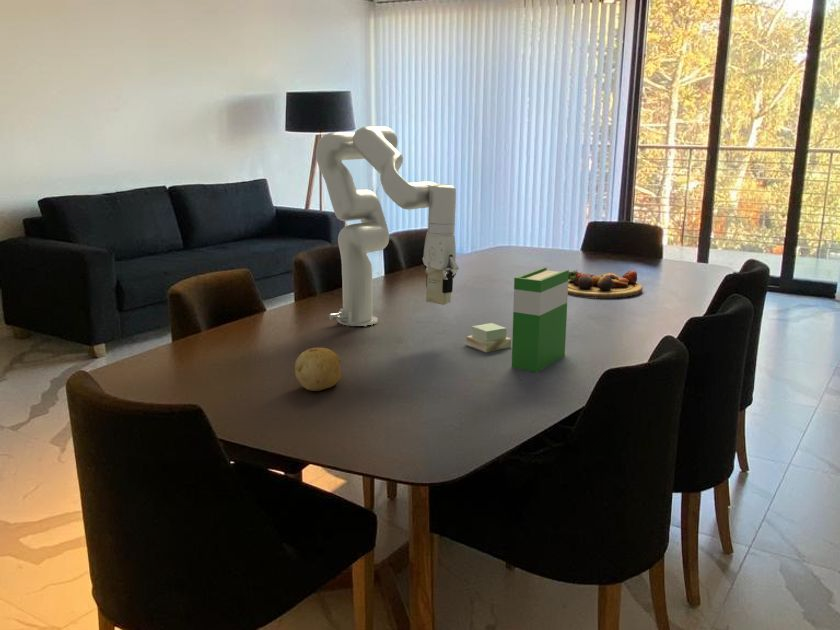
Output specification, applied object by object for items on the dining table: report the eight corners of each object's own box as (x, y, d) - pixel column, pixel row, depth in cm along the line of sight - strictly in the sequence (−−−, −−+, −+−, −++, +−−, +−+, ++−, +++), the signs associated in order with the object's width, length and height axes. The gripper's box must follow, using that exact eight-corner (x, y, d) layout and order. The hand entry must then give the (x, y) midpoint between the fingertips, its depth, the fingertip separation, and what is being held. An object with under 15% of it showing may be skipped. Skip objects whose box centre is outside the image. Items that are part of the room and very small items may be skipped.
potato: (351, 384, 191) (350, 345, 188) (317, 399, 181) (316, 358, 178) (319, 377, 196) (318, 339, 194) (285, 391, 186) (283, 351, 184)
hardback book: (540, 351, 219) (543, 267, 213) (564, 355, 215) (568, 270, 209) (511, 367, 204) (514, 277, 199) (537, 372, 200) (540, 280, 195)
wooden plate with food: (634, 283, 312) (635, 262, 310) (649, 299, 281) (650, 277, 279) (554, 283, 315) (554, 262, 313) (560, 299, 284) (560, 277, 282)
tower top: (486, 341, 218) (486, 331, 218) (472, 336, 224) (472, 326, 223) (506, 338, 222) (506, 328, 221) (491, 332, 228) (491, 322, 227)
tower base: (486, 353, 218) (486, 343, 217) (466, 346, 225) (466, 336, 224) (510, 348, 222) (510, 338, 222) (490, 341, 230) (490, 331, 229)
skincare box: (425, 302, 225) (426, 261, 222) (432, 299, 229) (433, 258, 225) (445, 305, 222) (446, 263, 219) (451, 302, 226) (453, 261, 223)
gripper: (413, 225, 224) (411, 284, 229) (448, 234, 211) (446, 297, 215) (434, 223, 229) (432, 282, 233) (470, 232, 215) (467, 294, 219)
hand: (439, 289), depth 224 cm, fingers closed on skincare box, 7 cm apart
